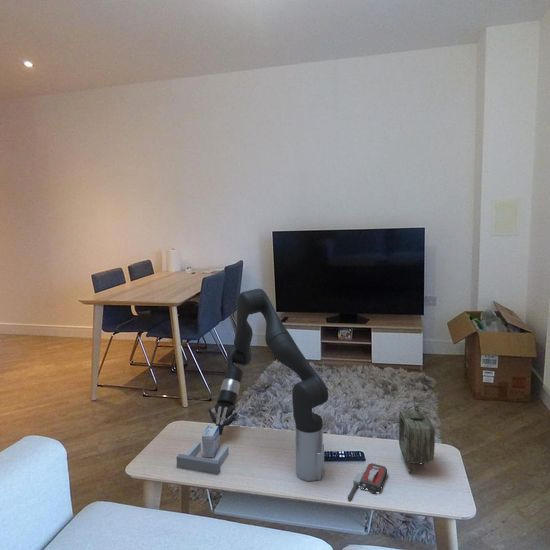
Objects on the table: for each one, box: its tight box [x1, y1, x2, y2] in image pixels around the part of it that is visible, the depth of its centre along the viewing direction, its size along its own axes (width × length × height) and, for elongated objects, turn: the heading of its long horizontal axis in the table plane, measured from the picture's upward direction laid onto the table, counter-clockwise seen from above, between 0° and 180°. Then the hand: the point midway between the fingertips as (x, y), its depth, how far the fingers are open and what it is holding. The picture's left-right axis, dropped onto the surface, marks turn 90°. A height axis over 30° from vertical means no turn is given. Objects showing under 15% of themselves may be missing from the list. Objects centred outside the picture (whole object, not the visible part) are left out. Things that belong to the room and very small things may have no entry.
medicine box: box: [201, 425, 220, 459], centre depth 155 cm, size 8×4×9 cm, turn 173°
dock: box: [176, 441, 230, 476], centre depth 149 cm, size 16×12×4 cm
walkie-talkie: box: [347, 462, 388, 500], centre depth 134 cm, size 9×4×20 cm
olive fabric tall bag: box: [398, 395, 436, 474], centre depth 144 cm, size 14×9×25 cm, turn 175°
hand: (217, 435), depth 159 cm, fingers closed
